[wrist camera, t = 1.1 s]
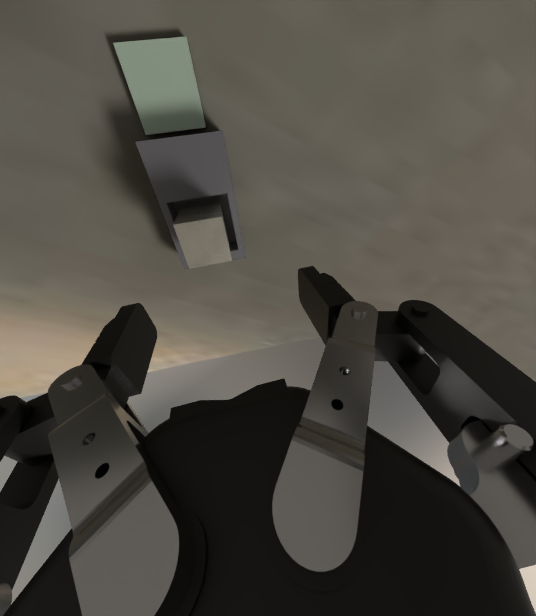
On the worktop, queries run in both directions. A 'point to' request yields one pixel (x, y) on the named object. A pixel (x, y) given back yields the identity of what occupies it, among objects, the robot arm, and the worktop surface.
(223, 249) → the beige rectangular block
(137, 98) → the mat
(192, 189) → the grey holder tray
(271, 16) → the worktop surface
